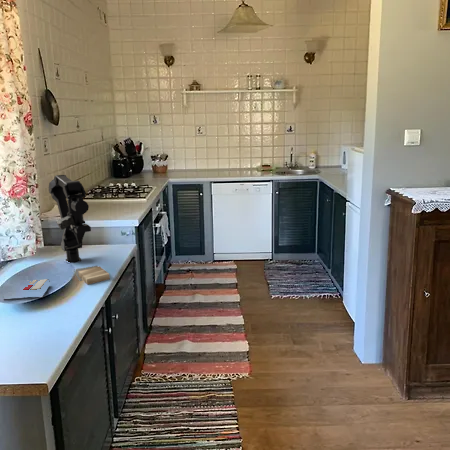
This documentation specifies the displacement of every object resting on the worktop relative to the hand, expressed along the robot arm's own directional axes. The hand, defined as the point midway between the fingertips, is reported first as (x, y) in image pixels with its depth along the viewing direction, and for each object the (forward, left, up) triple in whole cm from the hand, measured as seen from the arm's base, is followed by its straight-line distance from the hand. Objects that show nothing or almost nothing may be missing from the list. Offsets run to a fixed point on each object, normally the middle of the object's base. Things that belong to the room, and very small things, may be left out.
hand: (79, 243), depth 211 cm
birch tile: (+9, +1, -10) cm, 14 cm away
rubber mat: (+8, +1, -12) cm, 14 cm away
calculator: (+18, -24, -13) cm, 32 cm away
